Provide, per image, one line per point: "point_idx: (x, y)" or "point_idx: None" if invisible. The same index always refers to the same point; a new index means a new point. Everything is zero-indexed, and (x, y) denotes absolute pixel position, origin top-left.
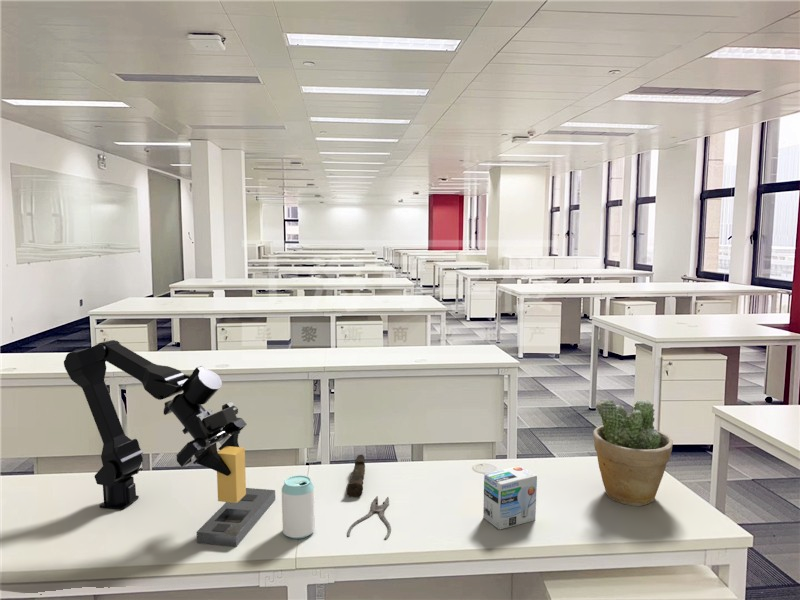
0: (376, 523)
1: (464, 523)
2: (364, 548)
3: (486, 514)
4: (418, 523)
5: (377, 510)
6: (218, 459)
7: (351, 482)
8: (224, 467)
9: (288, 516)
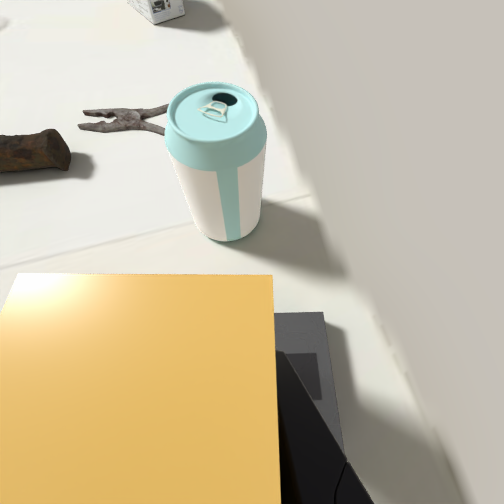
0: None
1: (170, 38)
2: None
3: (159, 12)
4: (174, 74)
5: (137, 116)
6: (366, 499)
7: (35, 146)
8: (309, 395)
9: (261, 190)
